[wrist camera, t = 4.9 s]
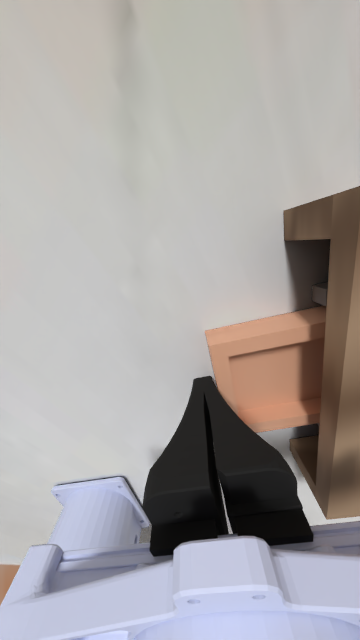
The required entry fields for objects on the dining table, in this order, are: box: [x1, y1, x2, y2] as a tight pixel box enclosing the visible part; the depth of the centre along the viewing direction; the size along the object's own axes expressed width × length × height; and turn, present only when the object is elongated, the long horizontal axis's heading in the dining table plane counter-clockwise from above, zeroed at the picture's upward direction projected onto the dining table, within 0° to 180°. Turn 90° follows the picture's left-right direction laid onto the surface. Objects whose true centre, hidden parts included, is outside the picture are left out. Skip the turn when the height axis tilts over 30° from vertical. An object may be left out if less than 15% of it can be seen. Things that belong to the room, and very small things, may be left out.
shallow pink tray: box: [205, 306, 327, 433], centre depth 13 cm, size 8×12×2 cm, turn 104°
